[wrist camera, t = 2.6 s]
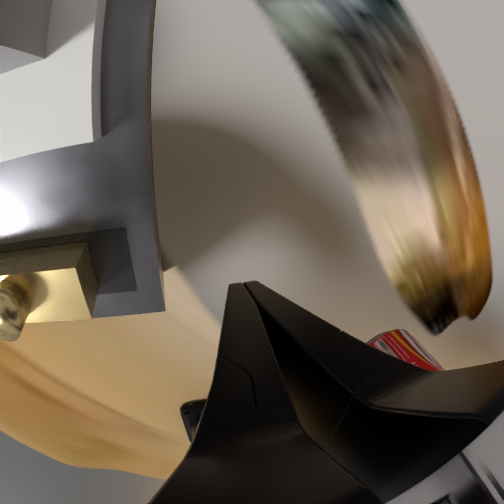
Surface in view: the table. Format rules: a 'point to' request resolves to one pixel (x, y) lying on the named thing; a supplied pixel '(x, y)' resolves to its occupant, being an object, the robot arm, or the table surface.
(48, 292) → the pegged block
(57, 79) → the lid
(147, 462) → the table surface
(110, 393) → the table surface
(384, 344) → the soda can
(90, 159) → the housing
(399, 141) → the table surface
